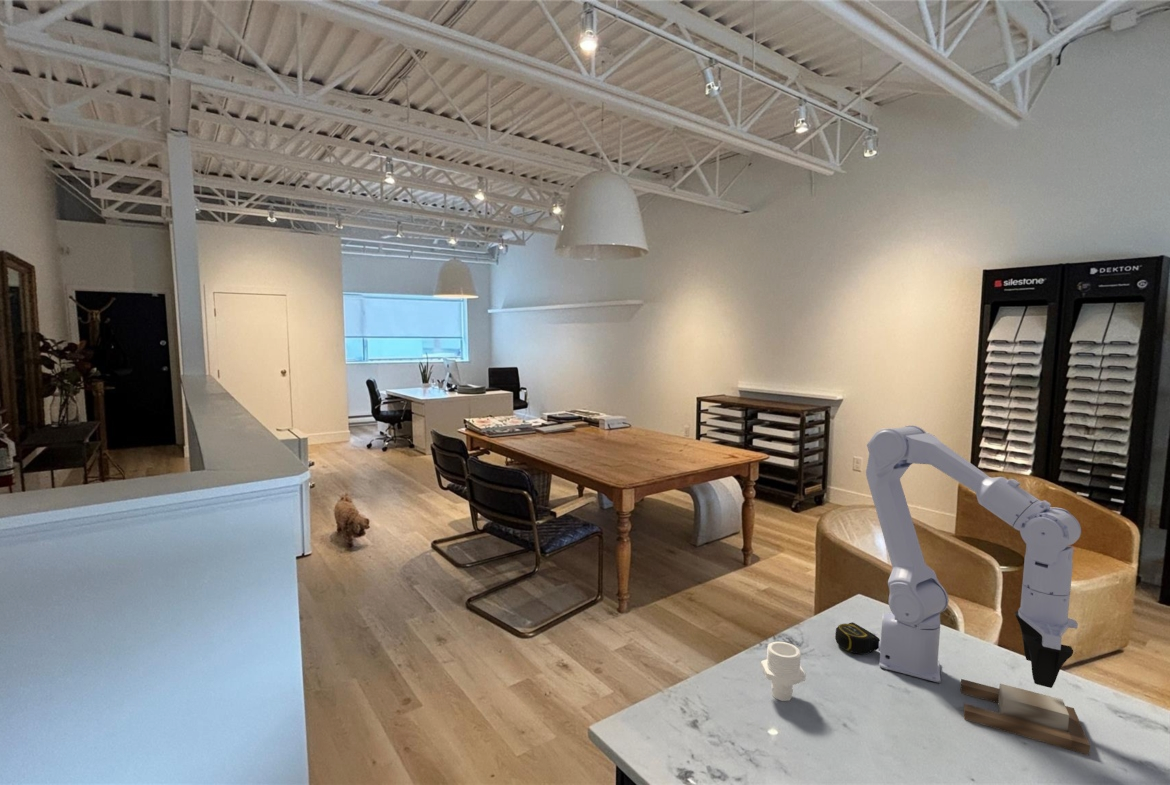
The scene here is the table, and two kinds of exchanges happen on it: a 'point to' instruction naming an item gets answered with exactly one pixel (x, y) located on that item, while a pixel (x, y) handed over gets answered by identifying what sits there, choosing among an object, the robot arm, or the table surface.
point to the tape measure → (856, 638)
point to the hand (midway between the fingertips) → (1038, 672)
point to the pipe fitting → (783, 669)
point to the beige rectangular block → (1033, 707)
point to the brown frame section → (1023, 721)
